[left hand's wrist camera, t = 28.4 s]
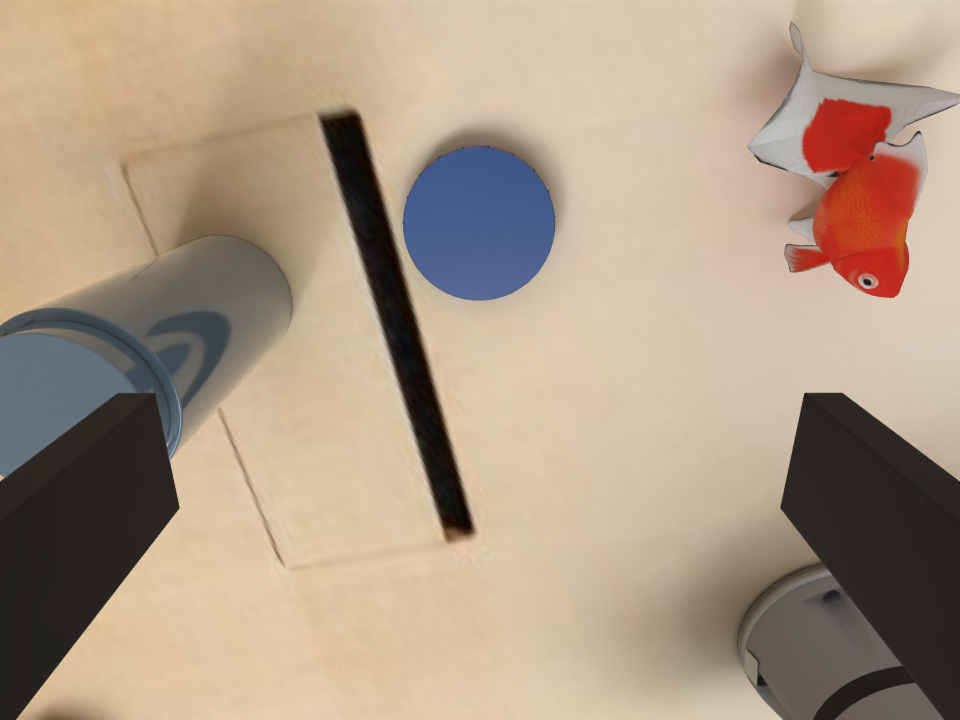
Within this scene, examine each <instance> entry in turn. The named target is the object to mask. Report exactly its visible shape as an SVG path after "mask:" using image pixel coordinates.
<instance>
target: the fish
mask: <svg viewBox="0 0 960 720" xmlns="http://www.w3.org/2000/svg"><path fill="white" fill-rule="evenodd" d="M789 30H790V35H791V39H792V42H793V46H794V49H795V50H796V51H797V53H798V54H799V55H800V56H801V58H802V59H803V62H802V65H801V67H800V70H799V73H798V76H797V78H796V81H795V83H794V85H793V87H792V88H791V90H790V91H789V93H788V95H787V96H786V98H785V100H784V101H783V103H782V105H781V106H780V108H779V109H778V110H777V111H776V112H775V114H774V115H773V116H772V117H771V118H770V119H769V121H768V122H767V123H766V124H765V125H764V127H763V128H762V129H761V130H760V131H759V133H758V134H757V135H756V136H755V137H754V139H753V140H752V141H751V142H750V143H749V145H748V146H747V148H748V149H749V150H750V151H751V152H752V153H753V155H754V156H755V157H756V158H757V159H758V160H759V162H761V163H764V164H768V165H771V166H774V167H777V168H780V169H783V170H787V171H791V172H795V173H799V174H802V175H803V176H805V177H807V178H809V179H811V180H813V181H815V182H817V183H819V184H820V185H821V186H823V187H824V188H825V189H826V193H825V194H824V195H823V197H822V198H821V200H820V202H819V204H818V206H817V209H816V212H815V215H814V217H807V218H804V219H799V220H793V221H790V222H789V227H790V228H791V229H793V230H794V231H796V232H797V233H799V234H801V235H803V236H804V237H806V238H807V239H809V240H811V241H813V242H816V245H817V246H814V245H802V246H800V245H793V244H786V246H785V252H784V255H785V258H786V260H787V262H788V265H789V270H790V272H794V273H795V272H800V271H806V270H810V269H812V268H815V267H819V266H822V265H825V264H828V263H831V264H832V265H833V268H834V270H835V271H836V272H837V273H838V274H840V275H841V276H842V277H843V278H844V279H845V280H847V281H848V282H849V283H850V284H851V285H853V286H854V287H855V288H857V289H858V290H860V291H862V292H864V293H867V294H870V295H873V296H878V297H886V298H894V297H895V296H897V295H898V294H899V292H900V289H901V286H902V284H903V281H904V278H905V276H906V273H907V271H908V267H909V252H908V248H907V244H906V242H905V240H906V232H907V227H908V221H909V219H910V218H911V216H912V214H913V212H914V210H915V207H916V205H917V202H918V200H919V197H920V194H921V191H922V189H923V185H924V182H925V178H926V175H927V171H928V170H927V156H926V150H925V146H924V142H923V138H922V134H921V132H920V131H918V132H916V134H915V135H914V136H913V138H912V139H911V140H910V142H908V143H907V144H905V145H902V146H897V145H893V144H890V143H887V142H889V141H890V140H891V139H892V138H893V137H895V136H896V135H897V134H898V133H899V132H900V131H901V130H902V129H903V128H904V127H905V126H906V125H908V124H911V123H913V122H916V121H918V120H921V119H923V118H926V117H928V116H931V115H934V114H936V113H939V112H941V111H944V110H946V109H948V108H950V107H953V106H955V105H957V104H959V103H960V94H956V93H951V92H947V91H943V90H938V89H934V88H930V87H924V86H914V85H904V84H894V83H885V82H875V81H866V80H857V79H848V78H841V77H836V76H832V75H827V74H823V73H818V72H814V71H813V69H812V67H811V64H810V61H809V59H808V56H807V54H806V51H805V49H804V46H803V43H802V40H801V36H800V32H799V30H798V28H797V27H796V26H795V24H794V23H793V22H791V23H790V27H789ZM873 159H874V161H872V160H873Z"/></svg>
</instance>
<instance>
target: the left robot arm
mask: <svg viewBox="0 0 960 720" xmlns="http://www.w3.org/2000/svg"><path fill="white" fill-rule="evenodd" d="M179 508H180V507H179V503H178V498H177V493H176V488H175V484H174V479H173V474H172V469H171V464H170V460H169V455H168V450H167V445H166V440H165V436H164V431H163V426H162V421H161V417H160V412H159V407H158V402H157V397H156V393H117V394H116V395H114V396H113V397H112V398H110V399H109V400H108V401H106V402H105V403H104V404H102V405H101V406H100V407H98V408H97V409H96V410H94V411H93V412H92V413H90V414H89V415H88V416H86V417H85V418H84V419H82V420H81V421H80V422H78V423H77V424H76V425H74V426H73V427H72V428H70V429H69V430H68V431H66V432H65V433H64V434H63V435H61V436H60V437H59V438H57V439H56V440H55V441H53V442H52V443H51V444H49V445H48V446H47V447H45V448H44V449H43V450H41V451H40V452H39V453H37V454H36V455H35V456H33V457H32V458H31V459H29V460H28V461H27V462H25V463H24V464H23V465H21V466H20V467H19V468H17V469H16V470H15V471H13V472H12V473H11V474H9V475H8V476H7V477H5V478H4V479H3V480H1V481H0V720H16V719H17V718H18V716H19V715H20V714H21V712H22V711H23V710H24V709H25V707H26V706H27V705H28V703H29V702H30V701H31V700H32V698H33V697H34V696H35V694H36V693H37V692H38V690H39V689H40V688H41V687H42V685H43V684H44V683H45V681H46V680H47V679H48V678H49V676H50V675H51V674H52V672H53V671H54V670H55V668H56V667H57V666H58V665H59V663H60V662H61V661H62V659H63V658H64V657H65V656H66V654H67V653H68V652H69V650H70V649H71V648H72V647H73V645H74V644H75V643H76V641H77V640H78V639H79V637H80V636H81V635H82V634H83V632H84V631H85V630H86V628H87V627H88V626H89V625H90V623H91V622H92V621H93V619H94V618H95V617H96V616H97V614H98V613H99V612H100V610H101V609H102V608H103V606H104V605H105V604H106V603H107V601H108V600H109V599H110V597H111V596H112V595H113V594H114V592H115V591H116V590H117V588H118V587H119V586H120V584H121V583H122V582H123V581H124V579H125V578H126V577H127V575H128V574H129V573H130V572H131V570H132V569H133V568H134V566H135V565H136V564H137V563H138V561H139V560H140V559H141V557H142V556H143V555H144V553H145V552H146V551H147V550H148V548H149V547H150V546H151V544H152V543H153V542H154V541H155V539H156V538H157V537H158V535H159V534H160V533H161V531H162V530H163V529H164V528H165V526H166V525H167V524H168V522H169V521H170V520H171V519H172V517H173V516H174V515H175V513H176V512H177V511H178V510H179ZM780 508H781V510H782V511H783V512H784V513H785V515H786V516H787V517H788V519H789V520H790V521H791V522H792V524H793V525H794V526H795V528H796V529H797V530H798V531H799V533H800V534H801V535H802V537H803V538H804V539H805V541H806V542H807V543H808V544H809V546H810V547H811V548H812V550H813V551H814V552H815V553H816V555H817V556H818V557H819V559H820V560H821V561H822V564H819V565H815V566H811V567H808V568H805V569H802V570H800V571H798V572H795V573H793V574H791V575H789V576H787V577H785V578H784V579H782V580H780V581H779V582H777V583H776V584H774V585H773V586H772V587H770V588H769V589H768V590H767V591H765V592H764V593H763V594H762V595H761V596H760V597H759V598H758V599H757V600H756V602H755V603H754V604H753V605H752V607H751V608H750V609H749V611H748V612H747V614H746V616H745V618H744V620H743V622H742V624H741V627H740V631H739V635H738V654H739V658H740V661H741V664H742V666H743V668H744V672H745V673H746V675H747V677H748V679H749V680H750V682H751V684H752V685H753V687H754V688H755V689H756V691H757V692H758V694H759V695H760V696H761V698H762V699H763V700H764V701H765V702H766V703H767V704H768V705H769V706H770V707H771V708H772V709H773V710H774V711H775V712H776V713H777V714H778V715H779V716H780V717H781V718H782V719H783V720H960V481H959V480H957V479H956V478H955V477H953V476H952V475H951V474H949V473H948V472H947V471H945V470H944V469H943V468H941V467H940V466H939V465H937V464H936V463H935V462H933V461H932V460H931V459H929V458H928V457H927V456H925V455H924V454H923V453H921V452H920V451H919V450H917V449H916V448H915V447H913V446H912V445H911V444H909V443H908V442H907V441H905V440H904V439H903V438H901V437H900V436H899V435H897V434H896V433H895V432H894V431H892V430H891V429H890V428H888V427H887V426H886V425H884V424H883V423H882V422H880V421H879V420H878V419H876V418H875V417H874V416H872V415H871V414H870V413H868V412H867V411H866V410H864V409H863V408H862V407H860V406H859V405H858V404H856V403H855V402H854V401H852V400H851V399H850V398H848V397H847V396H846V395H844V394H843V393H804V397H803V402H802V407H801V412H800V417H799V421H798V426H797V431H796V436H795V440H794V445H793V450H792V455H791V460H790V464H789V469H788V474H787V479H786V484H785V488H784V493H783V498H782V503H781V507H780Z"/></svg>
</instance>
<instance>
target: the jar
mask: <svg viewBox="0 0 960 720" xmlns="http://www.w3.org/2000/svg"><path fill="white" fill-rule="evenodd" d="M291 315H292V297H291V292H290V288H289V286H288V283H287V280H286V278H285V276H284V274H283V273H282V271H281V270H280V268H279V267H278V265H277V264H276V263H275V262H274V261H273V259H272V258H270V257H269V256H268V255H267V254H266V253H265V252H264V251H262V250H261V249H259V248H258V247H256V246H255V245H253V244H251V243H249V242H247V241H244V240H242V239H238V238H235V237H230V236H218V235H216V236H207V237H203V238H199V239H197V240H194V241H192V242H189V243H187V244H185V245H182V246H180V247H177V248H175V249H173V250H170V251H168V252H166V253H163V254H161V255H158V256H156V257H154V258H151V259H149V260H147V261H144V262H142V263H139V264H137V265H135V266H132V267H130V268H128V269H125V270H123V271H121V272H118V273H116V274H113V275H111V276H109V277H106V278H104V279H102V280H99V281H97V282H94V283H92V284H90V285H87V286H85V287H83V288H80V289H78V290H75V291H73V292H71V293H68V294H66V295H64V296H61V297H59V298H57V299H54V300H52V301H49V302H47V303H45V304H42V305H40V306H38V307H35V308H33V309H30V310H28V311H26V312H23V313H21V314H19V315H16V316H14V317H12V318H11V319H9V320H7V321H6V322H4V323H3V324H1V325H0V475H1V476H3V477H4V478H5V477H7V476H8V475H9V474H11V473H12V472H13V471H15V470H16V469H17V468H19V467H20V466H21V465H23V464H24V463H25V462H27V461H28V460H29V459H31V458H32V457H33V456H35V455H36V454H37V453H39V452H40V451H41V450H43V449H44V448H45V447H47V446H48V445H49V444H51V443H52V442H53V441H55V440H56V439H57V438H59V437H60V436H61V435H63V434H64V433H65V432H66V431H68V430H69V429H70V428H72V427H73V426H74V425H76V424H77V423H78V422H80V421H81V420H82V419H84V418H85V417H86V416H88V415H89V414H90V413H92V412H93V411H94V410H96V409H97V408H98V407H100V406H101V405H102V404H104V403H105V402H106V401H108V400H109V399H110V398H112V397H113V396H114V395H116V394H117V393H156V397H157V402H158V407H159V412H160V417H161V421H162V426H163V431H164V436H165V440H166V445H167V450H168V455H169V460H170V461H171V460H172V459H173V458H174V456H175V455H176V454H177V453H178V452H179V451H180V450H181V449H182V448H183V447H184V445H185V444H186V443H187V442H188V441H189V440H190V439H191V438H192V437H193V436H194V434H195V433H196V432H197V431H198V430H199V429H200V428H201V427H202V426H203V424H204V423H205V422H206V421H207V420H208V419H209V418H210V417H211V416H212V415H213V413H214V412H215V411H216V410H217V409H218V408H219V407H220V406H221V405H222V404H223V402H224V401H225V400H226V399H227V398H228V397H229V396H230V395H231V394H232V393H233V391H234V390H235V389H236V388H237V387H238V386H239V385H240V384H241V383H242V382H243V380H244V379H245V378H246V377H247V376H248V375H249V374H250V373H251V372H252V371H253V369H254V368H255V367H256V366H257V365H258V364H259V363H260V362H261V361H262V359H263V358H264V357H265V356H266V355H267V354H268V353H269V352H270V351H271V350H272V348H273V347H274V346H275V345H276V344H277V343H278V342H279V341H280V339H281V338H282V337H283V335H284V334H285V332H286V330H287V328H288V326H289V323H290V320H291Z"/></svg>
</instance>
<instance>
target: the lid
mask: <svg viewBox="0 0 960 720" xmlns="http://www.w3.org/2000/svg"><path fill="white" fill-rule="evenodd" d="M534 171H535V170H534V169H533V168H532V169H531V168H530V167H529V166H528V165H527V164H526V163H525V162H523V161H522V160H521V159H519V158H518V157H516V156H515V154H514V153H512V154H511V153H509V152H506V151H504V150H501V149H497V148H493V147H490V145H488V147H486V146H472V147H464V146H463V147H462V148H461V149H457V150H454V151H452V152H450V153H447V154H445V155H444V156H442V157H441V156H439V157H438V159H437V160H436V161H435V162H433V163H432V164H431V165H430V166H429V167H428V168H427V169H426V170H425V171H424V172H423V173H422V172H421V173H420V174H419V178H418V179H417V181H416V182H415V183H414V185H413V187H412V189H411V191H410V193H409V195H408V196H407V201H406V206H405V210H404V218H403V230H404V237H405V243H406V246H407V249H408V252H409V254H410V256H411V259H412V261H413V262H414V264H415V266H416V267H417V269H418V270H419V271H420V272H421V274H422V275H423V276H424V277H425V278H426V279H427V280H428V281H429V282H430V283H431V284H433V285H434V286H435V287H437V288H438V289H440V290H442V291H444V292H445V293H447V294H450V295H452V296H455V297H458V298H462V299H467V300H491V299H496V298H500V297H503V296H506V295H508V294H511V293H513V292H515V291H516V290H518V289H520V288H521V287H523V286H524V285H525V284H527V283H528V282H529V281H530V280H531V279H532V278H533V277H534V276H535V275H536V274H537V273H538V271H539V270H540V269H541V267H542V266H543V264H544V263H545V261H546V259H547V257H548V254H549V252H550V249H551V246H552V243H553V238H554V231H555V215H554V210H553V205H552V201H551V199H550V196H549V191H548V190H547V189H546V187H545V185H544V183H543V182H542V181H541V179H540V178H539V176H538V175H537V174H536V173H535V172H534Z"/></svg>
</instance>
